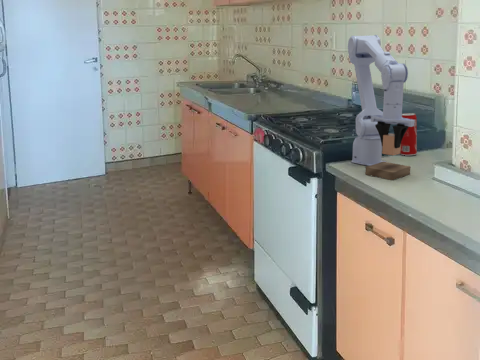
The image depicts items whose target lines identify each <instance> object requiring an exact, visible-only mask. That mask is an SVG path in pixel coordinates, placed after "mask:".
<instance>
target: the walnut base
mask: <svg viewBox="0 0 480 360" xmlns="http://www.w3.org/2000/svg"><path fill="white" fill-rule="evenodd" d="M364 173H365V174H366V176H370V175H372V176H371V177H375V176H377V177H376V178H379V177H381V178H380V179H384V178H385V180H390V181H394V179H395V180H397V178H398V179H400V178H402V177H406V176H408V175H411V166H410V165H406V164H398V163H394V162H388V161H386V162H380V163H377V164H374V165H370V166H367V165H366V166H365V172H364Z"/></svg>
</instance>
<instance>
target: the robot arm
mask: <svg viewBox="0 0 480 360" xmlns="http://www.w3.org/2000/svg"><path fill="white" fill-rule="evenodd" d="M381 43H382V41H381V38H380V37H379V35H378V34H374V35H351V36H350V37H349V39H348V42H347V54H348V58H349V63H350V64H352V65H353V67H354V71H355V77H356V82H357V88H358V95H359V101H360V106H361V107H360V108H361V111H359V113H357V115H356V117H355V133H356V135H357V136H356V137H355V138H354V140H353V143H352V158H351V159H352V160H351V161H350V162H351V163H352V164H359V165H362V166H366V167H367V166H370V165H374V164H377V163H380V162H387V161H386V160H382V149H383V135H386V134H390V133H389V132H390V128H391V125H393V126H392V129H393V134H394V137H395V140H394V147H395V148H399V147H400V145H401V141H402V139H403V136H404V134H405V132H406V131H407V129H408V127H412V126H414V124H415V120H412V119H407V118H402V114H403V102H404V101H403V100H404V83H406V82H407V80H408V78H409V77H408V75H409V70H408V67H407V65H406V63H398V61H397V60H396V59H395V57H393V55H392V54H391V52H390V51H384V49H383V48H382V47H381ZM372 63H374V66H375V67H376V69H378V72H380V77H381V80H382V81H381V83H382V89H383V105H382V110H381V109H379V108H378V107H377V101H376V97H375V91H374V85H373V79H372V74H371V68H370V67H371V66H370V65H371V64H372Z"/></svg>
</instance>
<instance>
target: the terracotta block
mask: <svg viewBox="0 0 480 360" xmlns="http://www.w3.org/2000/svg"><path fill="white" fill-rule="evenodd" d="M394 140H395V137H394V133H388V134H386V135H383V146H382V154H383V155H388V156H396V155H401V154H400V149H401V145H400V147H399V148H395V147H394Z"/></svg>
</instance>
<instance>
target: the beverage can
mask: <svg viewBox="0 0 480 360" xmlns="http://www.w3.org/2000/svg"><path fill="white" fill-rule="evenodd" d="M402 118H407V119H412V120H415V124H414V126H412V127H408V129H407V131H406V132H405V134H404V136H403V139H402V141H401V149H400V154H399V155H401V156H404V155H405V156H406V157H408V156H409V157H410V156H411V157H412V156H416V155H417V153H418V151H417V149H418V146H417V145H418V144H417V142H418V141H417V140H418V138H417V137H418V133H417V131H418V130H417V126H418V124H417V122H418V121H417V114H416V113H415V112H414V113H413V112H405V113H402Z"/></svg>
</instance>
